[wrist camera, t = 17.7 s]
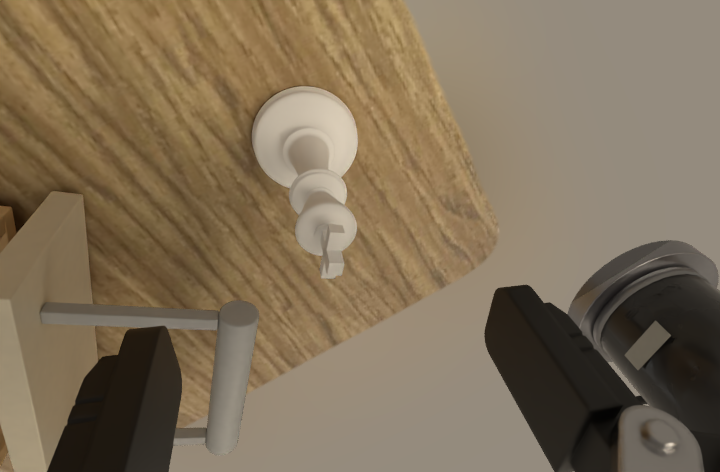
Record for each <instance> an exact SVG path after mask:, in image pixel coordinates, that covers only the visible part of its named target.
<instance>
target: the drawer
mask: <svg viewBox="0 0 720 472" xmlns="http://www.w3.org/2000/svg"><path fill="white" fill-rule="evenodd" d="M258 321H259V311H258V309H257V308H256V307H255V306H254V305H253V304H251V303H249V302H246V301H241V300H236V301H231V302H228V303H226V304H225V305H224V306H223V307H222V308H221V309H220V312H219V311H215V310H195V309H175V308H156V307H136V306H117V305H97V304H93V299H92V288H91V277H90V267H89V256H88V245H87V234H86V223H85V212H84V201H83V195H82V194H75V193H66V192H57V191H52V192H51V193H50V194H49V195H48V196H47V198H46V199H45V200H44V201H43V202H42V204H41V205H40V206H39V207H38V208H37V210H36V211H35V212H34V213H33V214H32V216H31V217H30V218H29V219H28V220H27V222H26V223H25V224H24V225H23V226H22V228H21V229H20V230H19V231H18V232H16V227H15V222H14V216H13V211H12V207H7V206H0V467H1V465H2V463H3V461H4V459H5V457H6V455H7V453H9V456H10V460H11V463H12V467H13V470H14V472H47V470H48V467H49V465H50V462H51V460H52V457H53V455H54V452H55V450H56V447H57V445H58V442H59V440H60V437H61V435H62V432H63V430H64V427H65V426H66V425H67V423H68V422H67V420H68V417H69V415H70V412H71V410H72V407H73V406H75V400H76V397H77V395H78V392H79V390H80V387H81V384H82V382H83V379H84V377H85V376H86V375H87V374H88V373H89V372H90V371H91V369H92V368H93V367H94V366H95V365H96V364H97V363H98V354H97V343H96V332H95V326H114V327H140V328H146V327H155V326H166V328H167V329H192V330H217V339H216V348H215V357H214V367H213V376H212V385H211V395H210V404H209V413H208V423H207V428H176V430H175V436H174V442H173V446H175V445H204V444H205V443H206V447H207V449H208V450H209V451H210V452H211V453H212V454H214V455H226V454H228V453H230V452H231V451H232V450H234V448H235V447H236V445H237V443H238V437H239V432H240V425H241V420H242V414H243V408H244V402H245V397H246V391H247V385H248V379H249V373H250V367H251V361H252V356H253V350H254V344H255V338H256V332H257V326H258ZM205 441H206V442H205Z"/></svg>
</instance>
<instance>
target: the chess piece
mask: <svg viewBox="0 0 720 472" xmlns="http://www.w3.org/2000/svg"><path fill="white" fill-rule="evenodd" d="M252 145H253V149H254V152H255V155H256V158H257V160H258V163H259V164H260V166H261V168H262V169H263V170H264V172H265V173H266V174H267V175H268V176H269V177H270V178H271V179H273V180H274V181H275V182H277V183H279V184H280V185H282V186H285V187H287V188H290V191H289V200H290V203H291V206H292V208H293V209H294V210H295V211H296V213H297V214H298V215H299V217H298V219H297V222H296V225H295V235H296V239H297V241H298V243H299V244H300V246H301V247H302V248H303V249H304V250H306V251H307V252H309V253H311V254H314V255H319V256H322V259H321V265H320V275H321V278H326V279H335V277H336V275H338V276H342V272H343V268H344V260H343V256H342V252H341V251H343V250H344V249H346V248H347V247H348V246H349V245H350V244H351V243H352V241H353V240H354V238H355V235H356V232H357V223H356V219H355V217H354V215H353V213H352V212H351V211H350V210H349V209H348V208H347V207H346V206H345V202H346V198H347V188H346V185H345V183H344V181H343V179H342V178H341V177H342V176H343V175H344V174H345V173H346V172H347V170H348V169H349V168H350V166H351V164H352V163H353V160H354V158H355V155H356V152H357V146H358V136H357V128H356V123H355V120H354V118H353V115H352V113H351V112H350V110H349V109H348V107H347V106H346V105H345V104H344V103H343V102H342V101H341V100H340V99H339V98H338V97H337V96H335V95H334V94H332V93H330V92H328V91H326V90H323V89H320V88H316V87H310V86H299V87H293V88H289V89H286V90H283V91H281V92H279V93H277V94H276V95H274V96H273V97H271V98H270V99H269V100H268V101H267V102H266V103H265V104H264V105H263V106H262V108H261V109H260V111H259V112H258V114H257V116H256V118H255V121H254V124H253V129H252Z"/></svg>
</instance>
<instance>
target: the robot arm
mask: <svg viewBox="0 0 720 472" xmlns="http://www.w3.org/2000/svg"><path fill="white" fill-rule="evenodd" d="M593 337H594V340H595V342H596V344H597V345H598V346H599V348H600V349H601V350H602V351H603V352H604V353H605V354H606V355H607V356H609V358H610V359H611V360H612V361H613V362H614V363H615V365H616V366H617V367H618V368H619V370H620V371H621V372H622V373H623V374H624V376H625V377H626V378H627V379H628V381H629V382H630V383H631V384H632V385H633V387H634V388H635V389H636V390H637V391H638V393H639V394H640V395H641V396H637V397H635V396H634V394H633V393H632V392H631V391H630V389H629V388H628V387H627V386H626V384H625V383H624V382H623V381H622V380H621V378H620V377H619V376H618V375H617V373H615V371H614V370H613V369H612V368H611V366H610V365H609V364H608V363H607V361H606V360H605V359H604V358H603V356H602V355H601V354H600V353H599V352H598V350H597V349H594V347H593V344H592V343H591V342H590V341H589V339H588V338H587V337H586V336H583V334H582V331H581V330H580V329H579V327H578V326H577V325H576V324H575V322H574V321H573V320H572V319H571V318H570V316H569V315H567V314H566V313H564V312H563V311H561V310H560V309H559V308H557V307H556V306H554V305H553V304H551V303H543V301H542V300H541V299H540V298H539V296H538V295H537V294H536V292H535V291H534V290H533V289H532V288H531V287H530V286H528V285H520V286H511V287H503V288H498V289H497V290H496V291H495V293H494V297H493V300H492V304H491V308H490V312H489V316H488V320H487V323H486V327H485V343H486V347H487V350H488V352H489V354H490V356H491V358H492V360H493V362H494V363H495V365H496V367H497V369H498V371H499V373H500V374H501V376H502V378H503V380H504V381H505V383H506V385H507V387H508V389H509V391H510V392H511V394H512V396H513V398H514V399H515V401H516V403H517V405H518V407H519V408H520V410H521V412H522V414H523V415H524V418H525V419H526V421H527V423H528V424H529V426H530V428H531V430H532V432H533V434H534V436H535V437H536V439H537V441H538V443H539V445H540V446H541V448H542V450H543V452H544V454H545V455H546V457H547V459H548V461H549V463H550V464H551V466H552V468H553V470H554V471H555V472H572V471H575V472H720V291H719V290H718V289H717V288H715V287H714V286H713V285H712V284H710V283H709V281H708V280H707V279H706V278H705V277H703V276H702V275H701V274H699V273H698V272H697V271H695V270H693V269H691V268H687V267H670V268H664V269H660V270H657V271H654V272H652V273H649V274H647V275H644V276H642V277H641V278H639V279H637V280H635V281H633V282H632V283H630V284H629V285H627V286H626V287H624V288H623V289H622V290H621V291H619V292H618V293H617V294H616V295H615V296H614V297H613V298H612V299H611V300H610V301H609V302H608V303H607V304H606V305H605V307H604V308H603V309H602V311H601V312H600V314H599V315H598V317H597V319H596V322H595V325H594V329H593ZM181 393H182V378H181V371H180V367H179V364H178V360H177V357H176V354H175V351H174V348H173V345H172V342H171V338H170V335H169V332H168V329H167V328H166V326H155V327H146V328H137V329H129V330H128V331H127V332H126V333H125V336H124V339H123V341H122V344H121V347H120V350H119V353H118V355H113V356H105V357H102V358H101V359H100V360H99V361H98V363H97V364H96V365H95V366H94V367H93V368H92V369H91V371H90V372H89V373H88V374H87V375H86V376H85V377H84V379H83V382H82V384H81V387H80V390H79V392H78V395H77V397H76V400H75V406H73V407H72V410H71V412H70V415H69V417H68V420H67V422H68V423H67V425H66V426H65V427H64V430H63V432H62V435H61V437H60V440H59V442H58V445H57V447H56V450H55V452H54V455H53V457H52V460H51V462H50V465H49V467H48V470H47V472H168V471H169V465H170V459H171V454H172V448H173V442H174V436H175V430H176V424H177V418H178V412H179V406H180V400H181ZM642 404H648V405H649V406H645V405H642Z"/></svg>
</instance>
